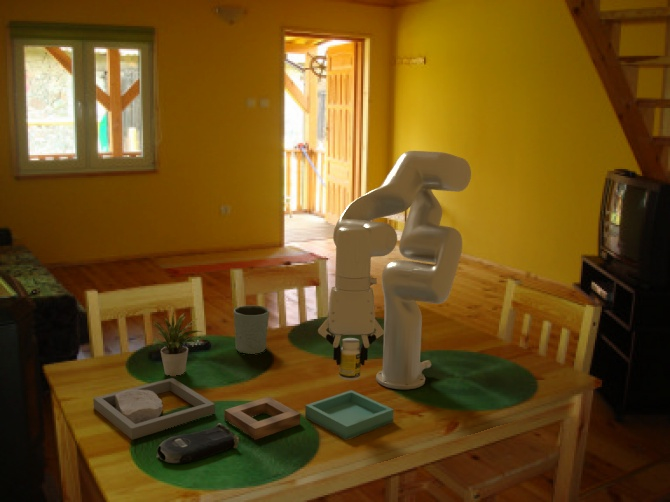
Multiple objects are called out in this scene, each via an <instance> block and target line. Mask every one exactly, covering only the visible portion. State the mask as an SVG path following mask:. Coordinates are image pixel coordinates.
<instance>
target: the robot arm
mask: <svg viewBox="0 0 670 502" xmlns="http://www.w3.org/2000/svg"><path fill="white" fill-rule="evenodd" d="M471 177H472V171H471V166H470V164H469V162H468V161H467V160H466V159H465V158H463V157H460V156H456V155H454V154H450V153H446V152H443V151H441V152H439V151H427V150H426V151H425V150H409V151H405V152H403V153H402V154H400V156H398V158H397V160H396V161H395V162H394V164H393V166H392V167H391V169H390V171H389V172H388V174H387V175H386V177H385V178H384V180H383V181H382V183H381V185H380V186H379V187H376V188H374V189H372V190H370V191H369V192H367V193H365V194H363V195H361V196H360V197H358V198H356V199H355V200H353V201H352V202H350V203H349V204H348V205H347V206H346V208H345V209H344V211H343V212H342V214H341V215H340V216H339V218H338V220H337V222H336V224H335V227H334V229H333V235H332V238H333V242H334V243H333V244H334V245H335V271H334V272H335V273H334V276H335V277H334V278H335V279H334V280H335V281H334V283H335V284H334V286H333V287H331V289H330V293H329V294H330V295H329V301H328V310H327V311H328V312H327V318H326V319H325V320H324V321H323V323H322V324H321V325H320V326H319V328H318V329H317V332H318V334H319V335H320V336H322V337H323V338H325V339H326V341H328V342H329V343H330V345H331V346H332V347H333V349H332V350H333V351H332V353H333V354H332V355H333V357H332V358H333V361H336V366H339V364H340V349H341V344H340V341H341V337H342V336H351V335H352V336H361V340H362V341H361V343H360V347H359V348H360V350H361V365H362V366H365V361H368V357H369V356H368V354H369V352H368V351H369V347H370V345H372V344H373V343H374V342H375V341H376V340H377V339H378V338H380V337H381V336H383V345H382V349H383V350H382V351H383V352H382V370H379V371H378V372H377V373H376V377H375V379H376V382H377V383H378V384H379V385H381V386H383V387H386V388H389V389H395V390H414V389H417V388H420V387H422V386H424V384H425V383H426V377H425V375H424V374H423V373H422V372H423V371H424V369H425V370H426V369H429V368H431V366H432V362H431V360H429V359H428V360H424V361H422V362H421V346H422V345H421V344H422V326H423V325H422V322H423V319H422V318H423V317H422V311H421V309H420V307H419V305H418V302H422V303H428V304H433V305H434V304H435V305H439V304H443V303H445V302H446V301H447V300H448V298H449V296H450V294H451V292H452V287H453V284H454V281H455V277H456V274H457V270H458V266H459V263H460V260H461V257H462V252H463V237H462V235H461V233H460V231H459V230H458V229H457V228H454V227H451V226H445V225H440V224H441V220H442V217H443V208H442V205H441V204H440V202H439V200H438V198H437V197H436V196H435V194H434V192H433V190H434V191H443V192H445V191H446V192H454V193H455V192H458V193H461V192H463V191H464V190H466V189H467V187H468V186H469V185H470V182H471V179H472V178H471ZM407 210H409V211H408V214H407V218H406V220H405V224H404V227H403V230H402V234H401V235H400V240H399V245H398V250H399V253H400V254H401V256H402V257H404V258H406V259H408V260H402V259H399V260H398V259H397V260H393V261H390V262H388V263H387V264H386V265H385V266H384V268H383V269H382V273H381V286H382V287H381V288H382V292H383V303H384V319H383V326H384V327H383V326H381V325H380V323H379V321H377V319H376V311H375V307H376V306H375V295H374V289H373V287H371V286H372V285H377V283H378V279H377V277H372V275H371V263H372V262H371V261H372V259H371V258H374V257H377V258H378V257H385V256H387V255H389V254H390V253H392V252H393V251H394V249H395V248H396V246H397V244H398V243H397V242H398V234H397V231H396V229H395V228H394V227H393V226H392V225H391V224H389V223H387V222H380V221H374V220H376V219H377V220H378V219H382V218H386V217H390V216H395V215H398V214H400V213H403V212H406V211H407ZM425 262H427V263H425ZM328 331H329V332H328Z"/></svg>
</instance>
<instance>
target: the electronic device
mask: <svg viewBox="0 0 670 502" xmlns="http://www.w3.org/2000/svg"><path fill="white" fill-rule="evenodd" d="M239 439H240V438H239V436H237V434H235V433H233V432H232V431H231V429H230V428H228V426H227V425H224V424H223V423H221V422H219V423H217V425H215V426H213V427H211V428H206V429H204V430H199V431H196V432H192V433H191V432H190V433H185V434H179V435H174V436H170V437H169V438H167V439H164V440H163V441H162V442H161V443H160V444H159V445H158V446H157V452H156V458H159V459H160V460H162V461H164V462H166V463H170V464H175V465H176V464H178V465H179V464H181V465H182V464H186V463H187V464H188V463H191V462H196V461H199V460H202V459H204V458H207V457H208V458H209V457H211V456H214V455H216V454H219V453H222V452H224V451H227V450H228V449H230V448H232V449H237V448H238V445H239V442H240V440H239ZM162 455H164V457H165V459H163V456H162Z"/></svg>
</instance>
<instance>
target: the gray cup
mask: <svg viewBox="0 0 670 502" xmlns="http://www.w3.org/2000/svg"><path fill="white" fill-rule="evenodd" d="M269 317H270V309H269V308H267V307H265V306H263V305H256V304H255V305H254V304H253V305H252V304H251V305H250V304H249V305H240V306H238V307H235V308H234V309H233V318H234V324H233V325H234V332H235V333H234V334H235V335H234V336H235V340H234V341H235V343H234V344H235V350H236V349H237V350H238V351H240V352H243V353H248V354H249V353H250V354H255V353H260V352H263V351H264V350H265V349H267V340H268V339H267V338H268V337H267V335H268V334H267V333H268V326H269ZM265 351H266V350H265ZM265 351H264V352H265ZM264 352H263V353H264ZM260 354H261V353H260ZM255 355H256V354H255Z"/></svg>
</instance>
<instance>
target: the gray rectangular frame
mask: <svg viewBox="0 0 670 502" xmlns="http://www.w3.org/2000/svg"><path fill="white" fill-rule="evenodd" d="M135 389H138V390H149V391H153V392H154V393H155V394H156V395H158V394H160V395H161V394H163V393H167V392H172V393H173V394H175V395H177V396H178V397H179V398H181V399H182V400H184V401H185V402H187V403H188V404H190V405H191V406H192V407H189V408H185V409H182V410H179V411H176V412H175V411H174V412H173V413H169V414H166V415H162V416H161V415H160V416H159V417H158V418H155V419H151V420H148V421H144V422H141V423H137V424H134V423H133V422H132V421H131V420H129V419H128V418H127V417H125V416H124V415H123V414H122V413H120V412H119V411H118V410H117V409H116V406H115V405H116V402H115V395H116V394H119V393H120V392H124V391H127V390H135ZM92 401H93V409H94V410H96V411H97V412H98V413H99V414H100V415H101V416H103V417H104V418H105V419H106V420H108V421H109V422H110V423H111V424H112V425H113V426H115V427H116V428H117V429H119V431H121V432H122V433H123V434H124V435H126V436H127V437H128V438H129V439H131V440H136V439H139V438H142V437H145V436H146V437H147V436H148V435H152V434H156V433H159V432H163V431H165V429H166V430H168V428H169V429H171V427H172V428H175V427H178V426H177V425H179V426H181V425H180V424H182V425H184V424H183V423H185V424H187V423H186V422H189V421H192V420H194V419H197V418H199V417H203V416H206V415H210V414H214V413H215V414H216V404H215V402H213V401H211V400H210V399H208V398H207V397H204V396H203V395H201V394H200V393H198V392H196V391H194V390H193V389H192V388H190V387H188V386H187V385H185V384H183V383H182V382H181V381H178V380H177V379H175V378H174V377H170V378H167V379H163V380H159V381H158V380H157V381H154V382H151V383H147V384H143V385H139V386H135V387H131V388H127V389H124V390H119V391H114V392H112V393H107V394H104V395H101V396H96V397H93V400H92ZM192 422H193V421H192ZM189 423H190V422H189ZM174 426H175V427H174Z"/></svg>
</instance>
